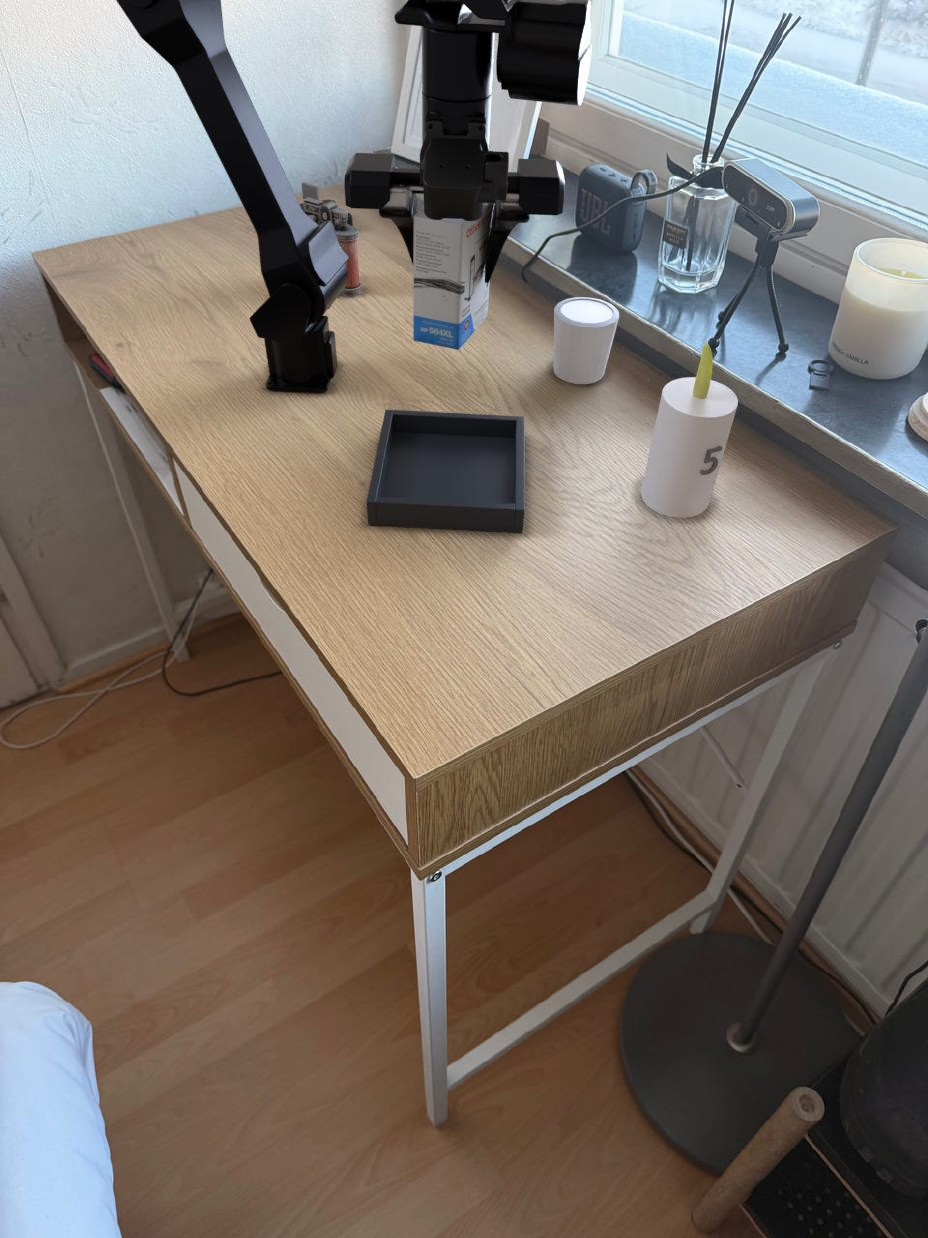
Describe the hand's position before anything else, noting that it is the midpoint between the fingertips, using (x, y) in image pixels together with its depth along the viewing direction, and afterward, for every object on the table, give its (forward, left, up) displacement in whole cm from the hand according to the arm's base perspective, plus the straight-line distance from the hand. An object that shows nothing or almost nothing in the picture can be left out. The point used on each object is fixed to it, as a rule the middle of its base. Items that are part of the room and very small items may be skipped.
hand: (453, 279), depth 82 cm
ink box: (0, 0, -5) cm, 5 cm away
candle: (+22, -15, -13) cm, 29 cm away
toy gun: (-22, +41, -13) cm, 49 cm away
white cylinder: (+14, +7, -13) cm, 20 cm away
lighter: (-16, +25, -13) cm, 33 cm away
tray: (+1, -14, -13) cm, 19 cm away
